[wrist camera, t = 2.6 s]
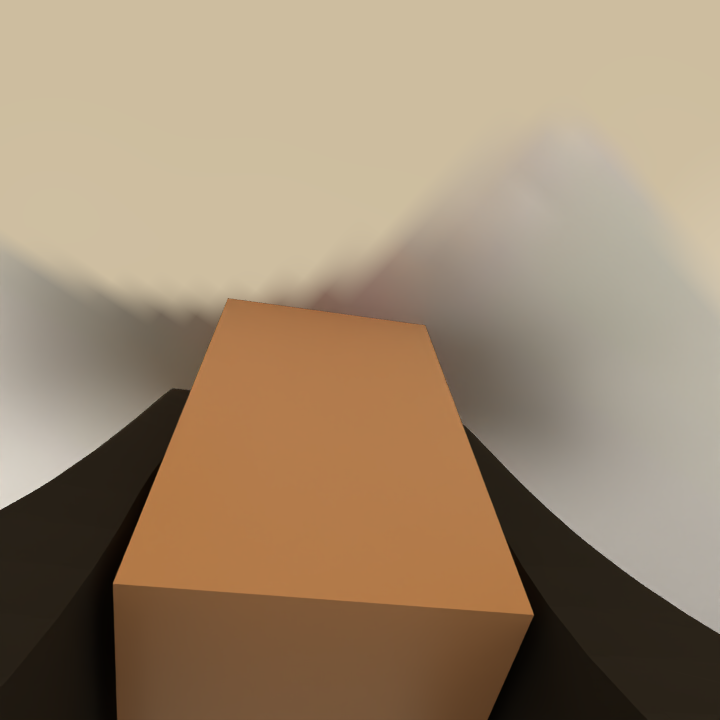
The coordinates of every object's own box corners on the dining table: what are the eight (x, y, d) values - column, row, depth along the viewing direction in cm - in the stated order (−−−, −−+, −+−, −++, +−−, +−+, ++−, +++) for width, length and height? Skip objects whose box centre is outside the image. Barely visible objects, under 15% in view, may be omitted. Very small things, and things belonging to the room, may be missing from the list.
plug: (424, 325, 12) (533, 614, 6) (387, 478, 14) (440, 824, 8) (228, 298, 11) (113, 583, 5) (216, 460, 13) (120, 817, 7)
